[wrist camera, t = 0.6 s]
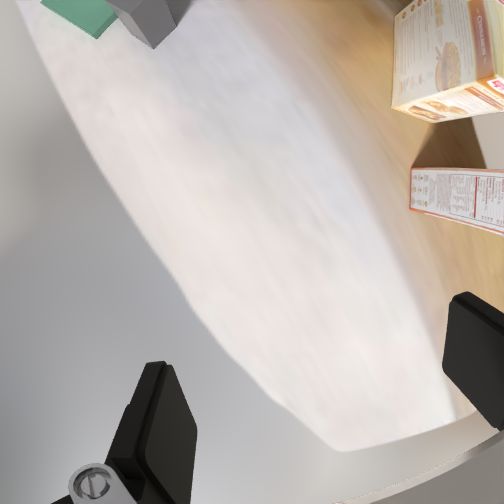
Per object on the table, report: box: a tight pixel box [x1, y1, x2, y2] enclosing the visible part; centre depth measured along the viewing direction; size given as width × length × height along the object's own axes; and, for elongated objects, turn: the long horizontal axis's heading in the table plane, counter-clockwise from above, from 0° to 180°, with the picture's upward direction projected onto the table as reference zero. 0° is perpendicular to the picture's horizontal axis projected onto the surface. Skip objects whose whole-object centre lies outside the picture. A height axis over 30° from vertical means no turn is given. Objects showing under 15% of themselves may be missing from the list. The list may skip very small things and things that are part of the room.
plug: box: [105, 0, 176, 49], centre depth 25 cm, size 4×5×10 cm
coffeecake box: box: [391, 0, 504, 124], centre depth 23 cm, size 15×7×20 cm, turn 172°
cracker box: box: [410, 168, 504, 236], centre depth 26 cm, size 14×6×21 cm, turn 90°
